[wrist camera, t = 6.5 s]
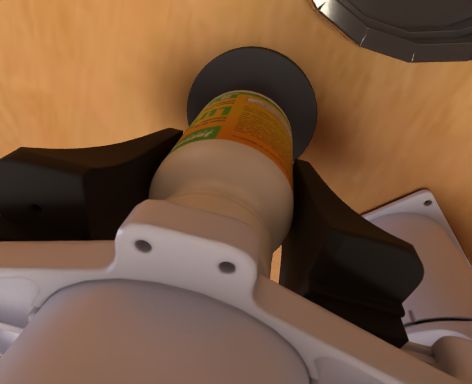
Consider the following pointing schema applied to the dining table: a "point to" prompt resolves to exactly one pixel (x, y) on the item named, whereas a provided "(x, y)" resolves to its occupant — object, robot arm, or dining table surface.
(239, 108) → the supplement bottle
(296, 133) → the coaster
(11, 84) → the dining table surface
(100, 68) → the dining table surface
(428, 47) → the pan
